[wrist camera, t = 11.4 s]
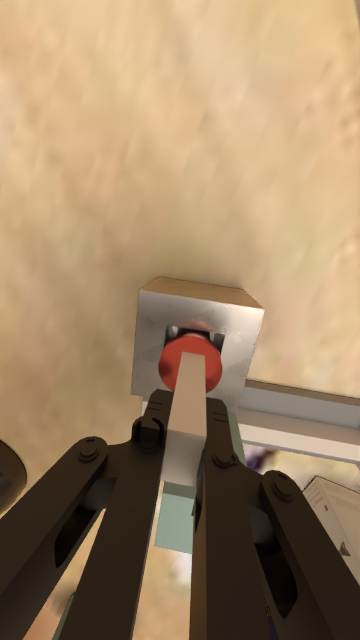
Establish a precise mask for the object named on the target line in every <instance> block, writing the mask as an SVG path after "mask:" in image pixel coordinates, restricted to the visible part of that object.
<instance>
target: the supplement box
mask: <svg viewBox="0 0 360 640" xmlns="http://www.w3.org/2000/svg"><path fill="white" fill-rule="evenodd" d="M303 494H304V496H305V498H306V499H307V501H308V502H309V504H310V506H311V507H312V509H313V511H314V512H315V514H316V515H317V517H318V519H319V520H320V522H321V524H322V525H323V527H324V528H325V530H326V532H327V533H328V535H329V537H330V538H331V540H332V541H333V543H334V545H335V546H336V548H337V550H338V551H339V553H340V554H341V556H342V558H343V559H344V561H345V563H346V564H347V566H348V567H349V569H350V571H351V572H352V574H353V576H354V577H355V579H356V580H357V582H358V584H359V585H360V494H359V493H356V492H354V491H352V490H349V489H347V488H345V487H342V486H340V485H338V484H335V483H333V482H330V481H328V480H325V479H323V478H320V477H318V476H316V478H315V479H314V480H313V482H312V483H311V484H310V485H309V486H308V487H307V488H306V489H305V490H304V492H303Z"/></svg>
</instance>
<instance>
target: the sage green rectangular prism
mask: <svg viewBox="0 0 360 640" xmlns="http://www.w3.org/2000/svg"><path fill="white" fill-rule="evenodd" d="M228 418H229V424H230V431H231V437H232V444H233V449H234V452H235V453H236V454H237V456H238V458H239V460H240V462H242V463H243V464H244V465H245V466H246V467H247V464H246V460H245V455H244V450H243V445H242V440H241V435H240V431H239V426H238V421H237V416H236V413H232V412H228ZM195 496H196V485H195V487H191V486H186V485H181V484H176V483H171V482H166V481H165V482H164V488H163V494H162V500H161V506H160V513H159V519H158V525H157V531H156V537H155V544H154V546H156V547H161V548H165V549H170V550H175V551H179V552H184V553H189V554H192V545H193V517H194V516H191V513H192V509H193V505H194V500H195Z"/></svg>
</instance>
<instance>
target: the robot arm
mask: <svg viewBox="0 0 360 640" xmlns="http://www.w3.org/2000/svg"><path fill="white" fill-rule="evenodd" d="M160 480H161V481H166V482H171V483H176V484H181V485H186V486H191V487H195V485H196V496H195V500H194V505H193V509H192V513H191V516H194V517H193V545H192V573H191V601H190V630H189V640H271V636H270V630H269V624H268V619H267V613H266V607H265V602H264V596H263V592H264V595H265V598H266V601H267V604H268V607H269V610H270V613H271V616H272V619H273V622H274V625H275V628H276V631H277V634H278V637H279V640H360V585H359V584H358V582H357V580H356V579H355V577H354V576H353V574H352V572H351V571H350V569H349V567H348V566H347V564H346V563H345V561H344V559H343V558H342V556H341V554H340V553H339V551H338V550H337V548H336V546H335V545H334V543H333V541H332V540H331V538H330V537H329V535H328V533H327V532H326V530H325V528H324V527H323V525H322V524H321V522H320V520H319V519H318V517H317V515H316V514H315V512H314V511H313V509H312V507H311V506H310V504H309V502H308V501H307V499H306V498H305V496H304V494H303V493H302V491H301V489H300V488H299V487H298V485H297V484H296V483H295V482H294V480H292V479H291V478H290V477H289V476H287V475H286V474H284V473H282V472H280V471H275V470H270V471H267V472H266V473H265V474H264V475H261V474H259V473H257V472H255V471H253V470H251V469H250V468H248V467H246V466H245V465H244V464H243V463H242V462H240V460H239V458H238V456H237V454H236V453H235V452H234V449H233V444H232V437H231V431H230V424H229V418H228V412H227V407H226V405H225V404H224V402H223V401H222V400H220V399H215V398H209V397H206V386H205V355H200V354H194V353H188V352H182V356H181V361H180V366H179V372H178V377H177V382H176V387H175V392H172V391H167V390H161V389H156V390H155V391H154V392H153V393H152V394H151V395H150V398H149V401H148V404H147V407H146V409H145V412H144V415H143V416H141V417H139V418H138V419H136V420H135V422H134V423H133V425H132V436H131V440H129V441H127V442H125V443H122V444H116V445H107V443H106V441H105V440H103V439H102V438H100V437H95V436H93V437H86V438H84V439H81V440H79V441H78V442H77V443H75V444H74V445H73V446H72V447H71V448H70V449H69V450H68V451H67V452H66V453H65V454H64V455H63V456H62V457H61V458H60V459H59V460H58V461H57V462H56V463H55V464H54V465H53V466H52V467H51V468H50V469H49V470H48V471H47V472H46V473H45V474H44V475H43V476H42V477H41V478H40V479H39V480H38V481H37V482H36V484H35V485H34V486H33V487H32V488H31V489H30V490H29V491H28V492H27V493H26V494H25V495H24V496H23V497H22V498H21V499H20V500H19V501H18V502H17V503H16V504H15V505H14V506H13V507H12V508H11V509H10V510H9V511H8V512H7V513H6V514H5V515H4V516H3V517H2V518H1V519H0V640H22V639H23V638H24V636H25V635H26V633H27V631H28V630H29V628H30V627H31V625H32V623H33V622H34V620H35V618H36V617H37V615H38V614H39V612H40V610H41V609H42V607H43V605H44V604H45V602H46V601H47V599H48V597H49V596H50V594H51V592H52V591H53V589H54V588H55V586H56V584H57V583H58V581H59V580H60V578H61V576H62V575H63V573H64V571H65V570H66V568H67V567H68V565H69V563H70V562H71V560H72V558H73V557H74V555H75V554H76V552H77V550H78V549H79V547H80V546H81V544H82V542H83V541H84V539H85V537H86V536H87V534H88V533H89V531H90V529H91V528H92V526H93V524H94V523H95V521H96V520H97V518H98V516H99V515H100V513H101V511H102V510H103V509H105V508H106V511H105V513H104V516H103V519H102V522H101V524H100V527H99V530H98V532H97V535H96V538H95V541H94V543H93V546H92V549H91V551H90V554H89V557H88V560H87V562H86V565H85V568H84V570H83V573H82V576H81V579H80V581H79V584H78V587H77V589H76V592H75V595H74V598H73V600H72V603H71V606H70V608H69V611H68V614H67V617H66V619H65V622H64V625H63V627H62V630H61V633H60V636H59V638H58V640H132V636H133V630H134V625H135V619H136V614H137V608H138V603H139V597H140V591H141V586H142V580H143V575H144V569H145V564H146V558H147V552H148V547H149V541H150V536H151V530H152V524H153V519H154V513H155V508H156V502H157V497H158V490H159V484H160ZM25 485H26V473H25V470H24V467H23V465H22V463H21V462H20V460H19V459H18V457H17V456H16V455H15V454H14V453H13V452H12V451H11V450H10V449H9V448H8V447H7V446H6V445H4V444H3V443H2V442H0V515H1V514H2V513H3V512H4V511H6V510H7V509H8V508H9V507H10V506H11V505H12V504H13V503H14V502H15V500H16V499H17V498H18V496H19V495H20V494H21V492H22V491H23V489H24V488H25ZM262 589H263V590H262Z"/></svg>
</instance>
